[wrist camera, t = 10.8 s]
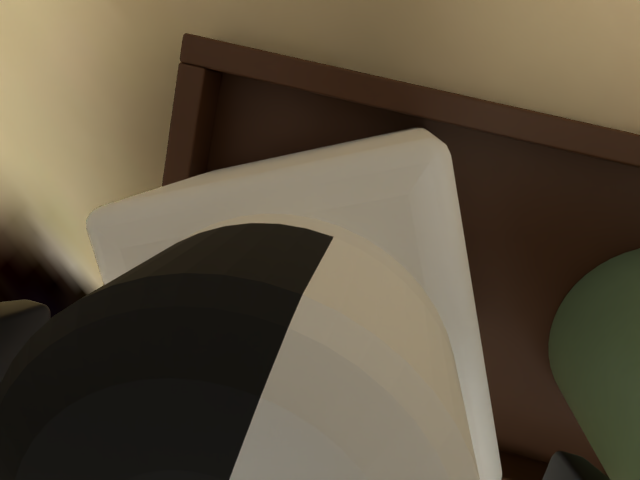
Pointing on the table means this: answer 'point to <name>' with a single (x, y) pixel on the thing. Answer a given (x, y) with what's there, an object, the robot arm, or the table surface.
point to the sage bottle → (603, 361)
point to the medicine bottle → (267, 331)
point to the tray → (473, 195)
